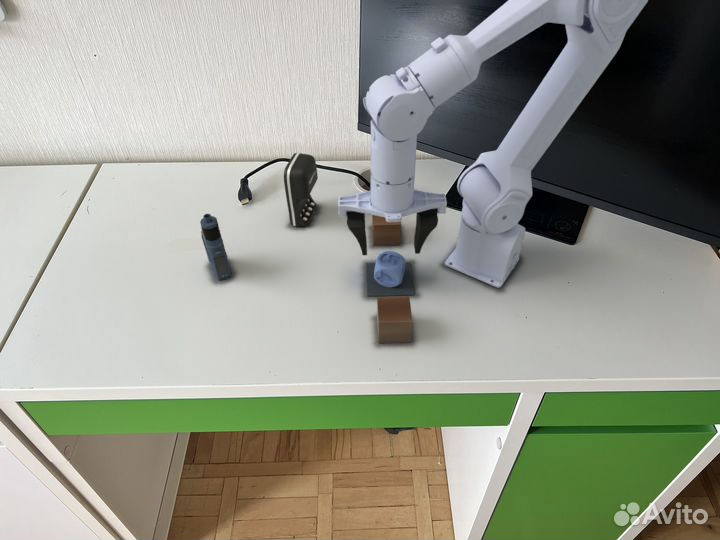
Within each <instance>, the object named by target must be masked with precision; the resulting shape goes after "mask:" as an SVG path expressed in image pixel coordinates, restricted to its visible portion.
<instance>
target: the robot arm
mask: <svg viewBox="0 0 720 540" xmlns="http://www.w3.org/2000/svg"><path fill="white" fill-rule="evenodd" d="M648 2H649V0H507V1H506V2H505V3H503V5H501V6H500V7H498V8H497V9H496V10H495V11H494V12H493V13H491V14H490V15H489V16H488V17H487V18H485V19H484V20H483V21H482V22H481V23H479V24H478V25H477V26H475V27H474V28H473V29H472V30H471V31H469V32H468V33H467V34H466V35H458V34H457V35H456V34H448V35H447V36H446V37H444V38H442V37H438V38H436V39H435V40H433V41H432V42H431V43H430V46H431V48H429V49H428V50H426V51H425V52H423V54H421V55H420V56H418V57H417V58H416V59H415V60H413V61H411V63H409V64H408V65H406V66H405V67H403V66H402V67H400V68H399V69H397V70H396V71H395V74H394V73H392V74H390V75H388V74H386V75H383V76H381V77H379V78H377V79H376V80H374V81H373V82H372V84H371V85H370V86H369V88H368V89H369V90H368V91H366V95H365V97H363V98H362V103H363V107H364V109H365V111H366V112H367V113H368V115H369V116H370V117H371V120H370V141H369V147H370V148H369V151H370V152H369V153H370V154H369V155H370V156H369V158H370V173H371V191H370V190H367V191H363V192H359V193H355V194H351V195H345V196H338V197H337V209H338V217H339V218H340V217H346V225H347V228H348V230H349V231H350V232H351V234H352V235H353V236H354V237H355V239H356V241H357V243H358V245H359V248H360V250H361V255H362V256H368V243H367V242H368V241H367V239H368V238H367V232H366V214H367V215H371V216H372V215H375V216H380V217H385V219H386V221H387V222H400V221H401V222H402V219H403V217H406V216H411V215H414V214H416V215H415V216H416V219H415V230H414V236H413V248H414V254H415V255H419V254H421V250H422V248H423V246H424V243H425V242H426V240H427V238H428V237H429V235H430V234H431V233H432V232H433V231H434V230H435V229H436V228H437V226H438V224H439V216H438V215H442V214H447V204H448V202H447V201H448V200H447V196H446V194H445V193H435V192H428V191H423V190H417V189H415V180H416V179H415V178H416V163H417V162H416V159H417V147H418V141H417V139H418V135H419V134H420V133H421V132H422V130H423V129H424V128H425V126H426V124H427V122H428V118H429V117H431V115H433V114H434V111H435V110H436V109H437V108H438V107H439V106H441V105H443V103H445V102H446V101H448V100H449V99H450V98H452V97H454V95H456V94H457V93H459V92H460V91H461V90H463V89H465V88H466V87H467V86H469V85H470V84H472V83H473V82H475V81H476V80H477V78H478V76H479V74H480V69H481V66H482V64H483V62H485V61H487V60H489V59H490V58H492V57H493V56H495V55H496V54H498V53H499V52H501V51H503V50H504V49H506V48H508V47H509V46H512V45H513V44H514V43H516V42H517V41H519V40H520V39H523V38H524V37H525V36H527V35H529V34H530V33H532V32H533V31H535V30H536V29H538V28H540V27H541V26H543V25H545V24H547V23H552V24H558V25H559V24H561V25H565V31H566V36H567V43H566V44H565V46H564V48H563V49H562V51H561V52H560V54H559V55H558V57H557V58H556V59H555V61H554V62H553V64H552V66H551V67H550V68H549V70H548V72H547V73H546V75H545V76H544V77H543V79H542V81H541V82H540V84H539V85H538V86H537V88H536V90H535V91H534V93H533V94H532V96H531V97H530V99H529V100H528V102H527V103H526V105H525V106H524V108H523V109H522V111H521V112H520V114H519V115H518V117H517V118H516V120H515V121H514V123H513V125H512V126H511V128H510V129H509V130H508V132H507V134H506V135H505V136H504V138H503V139H502V142H501V143H500V144H499V146H498V147H497V149H495V150H491V151H486V152H482V153H480V154H479V156H478V157H477V158H476V161H474V162H473V163H472V164H471V165H470V166H469V167H467V168H466V169H465V170H464V171H463V172H462V173H461V175H460V176H459V178H458V180H457V185H456V188H457V192H458V194H459V195H460V196H461V197H462V198H463V199H462V208H461V215H460V221H459V227H458V233H457V241H456V246H455V249H454V250H453V251H452V252H451V253H450V255H449V256H448V257H447V258H446V260H445V261H444V266H445V267H448V268H450V269H453V270H455V271H457V272H460V273H462V274H464V275H467V276H469V277H472V278H473V279H476V280H479V281H481V282H483V283H485V284H488V285H490V286H492V287H495V288H498V289H499V288H502V286H503V285H504V283H505V282H506V280H507V279H508V277H509V275H510V274H511V273H512V271H513V270H514V269H515V267H516V265H517V263H518V262H519V260H520V254H521V251H522V247H523V242H524V240H525V235H526V227H524V226H523V225H521V224H519V222H520V221H521V220H522V219H523V216H524V214H525V209H526V206H527V204H528V203H529V201H530V200H531V198H532V197H533V184H532V170H533V169H534V168H535V166H536V165H537V163H538V162H539V161H540V159H541V158H542V157H543V155H544V154H545V153H546V151H547V150H548V148H549V147H550V146H551V144H552V143H553V141H554V140H555V139H556V137H557V136H558V134H559V133H560V132H561V131H562V129H563V128H564V126H565V125H566V123H567V122H568V121H569V119H570V118H571V117H572V115H573V114H574V113H575V111H576V110H577V108H578V107H579V105H580V104H581V103H582V101H583V100H584V98H585V97H586V95H588V93H589V92H590V90H591V89H592V87H593V86H594V85H595V84H596V82H597V81H598V79H599V78H600V76H601V75H602V74H603V73H604V71H605V70H606V68H607V67H608V65H609V64H610V63H611V61H612V60H613V58H614V57H615V56H616V54H617V52H618V51H619V50H620V48H621V46H622V43H623V41H624V38H625V36H626V33H627V31H628V30H629V28H630V27H631V26H632V24H633V23H634V21H636V19H637V18H638V16H639V14H640V13H641V11H642V10H643V9H644V7H645V6H646V5H647V3H648Z"/></svg>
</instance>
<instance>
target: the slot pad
mask: <svg viewBox="0 0 720 540" xmlns="http://www.w3.org/2000/svg"><path fill="white" fill-rule="evenodd" d="M375 264H376V262H367V263H365V268H366V269H365V270H366V290H367V291H366V294H367V297H370V298H371V297H410V296H415V289H414V283H413V275H412V274H413V273H412V267H411V262H408V261H405V271H404V276H403V280H402V282H401V284H400V285H398V286H395V287H385V286H382V285H380V284H379V283H378V282H377V281H376V280H375V279H374V270H375Z"/></svg>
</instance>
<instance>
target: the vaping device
mask: <svg viewBox="0 0 720 540" xmlns="http://www.w3.org/2000/svg"><path fill="white" fill-rule="evenodd" d="M199 224H200V228H201V231H200V234H201V241H202V243H203V246H204V250H205V253H206V256H207V260H208V262H209V263H210V266H211V269H212V272H213V273H214V275H215V278H216V279H217V280H218V281H223V280H227V279H229V278H230V277H232V275H233V274H232V270H231V267H230V262H229V259H228V254H227V251H226V247H225V245H224V240H223V237H222V234H221V229H220V226H219V222H218V218H217V217H216V216H213V215H211V214H210V213H205V214H204V215H203V217H202V218H201V219H200V221H199Z"/></svg>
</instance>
